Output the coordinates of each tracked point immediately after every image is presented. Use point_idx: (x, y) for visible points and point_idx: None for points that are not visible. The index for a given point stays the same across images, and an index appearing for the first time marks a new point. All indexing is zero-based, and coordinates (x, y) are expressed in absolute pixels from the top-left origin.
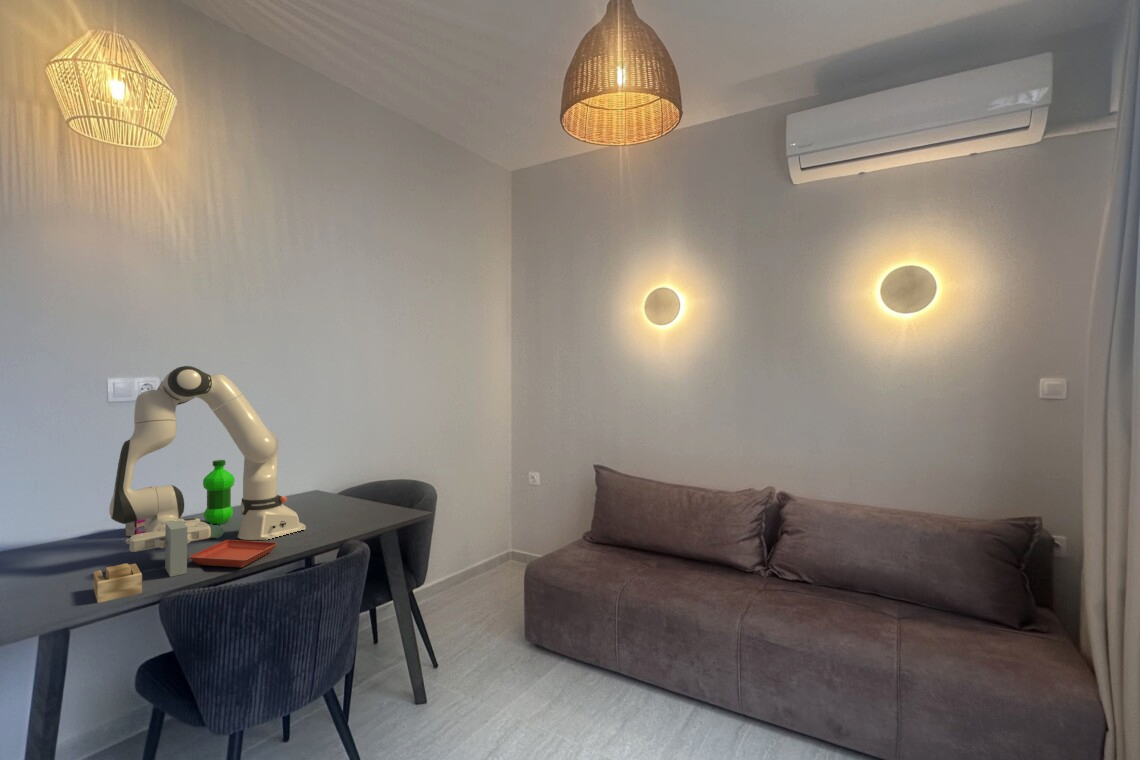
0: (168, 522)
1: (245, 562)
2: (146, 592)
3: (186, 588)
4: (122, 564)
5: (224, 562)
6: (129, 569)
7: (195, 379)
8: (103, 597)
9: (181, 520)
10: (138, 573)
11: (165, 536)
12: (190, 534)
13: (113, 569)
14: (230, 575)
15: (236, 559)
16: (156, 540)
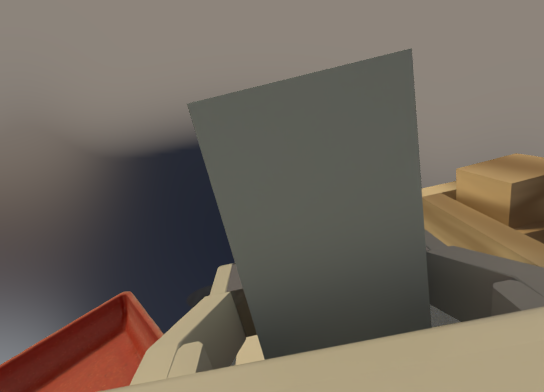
0: (368, 59)
1: (119, 312)
2: None
3: None
4: (524, 177)
5: (152, 343)
6: (459, 176)
7: None
8: None
9: (194, 103)
10: (427, 195)
11: (422, 255)
12: (161, 340)
13: (514, 158)
14: (188, 304)
15: (135, 299)
16: (522, 265)
